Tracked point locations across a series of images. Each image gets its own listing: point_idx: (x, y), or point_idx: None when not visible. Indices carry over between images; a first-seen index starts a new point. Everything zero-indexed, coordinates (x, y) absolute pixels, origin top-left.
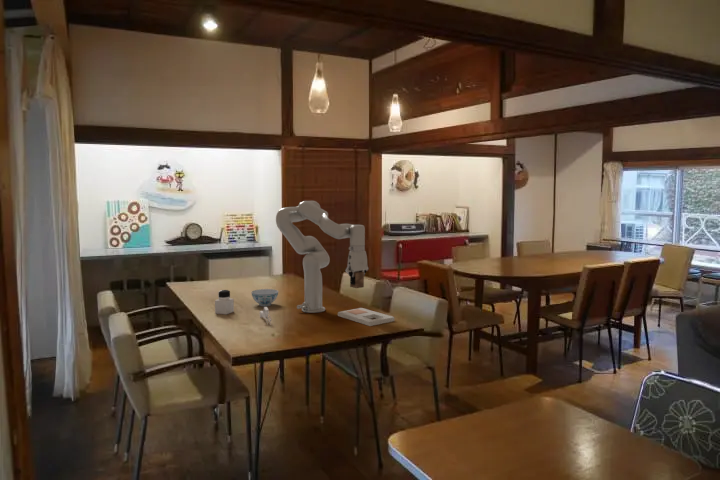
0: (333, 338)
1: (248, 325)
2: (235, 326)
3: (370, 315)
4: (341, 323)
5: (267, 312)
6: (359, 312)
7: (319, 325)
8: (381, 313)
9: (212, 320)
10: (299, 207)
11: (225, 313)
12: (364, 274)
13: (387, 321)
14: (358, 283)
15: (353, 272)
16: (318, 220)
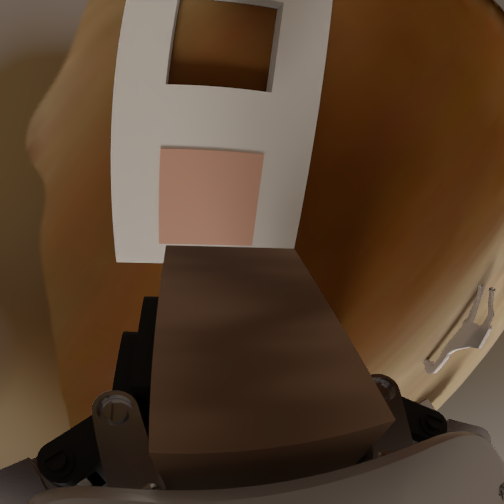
0: (499, 44)
1: (487, 309)
2: (495, 314)
3: (198, 85)
4: (380, 133)
5: (481, 326)
6: (213, 172)
7: (443, 183)
8: (117, 68)
9: (467, 369)
10: None
11: (428, 400)
12: (98, 410)
13: None
14: (272, 280)
15: (405, 437)
16: None
